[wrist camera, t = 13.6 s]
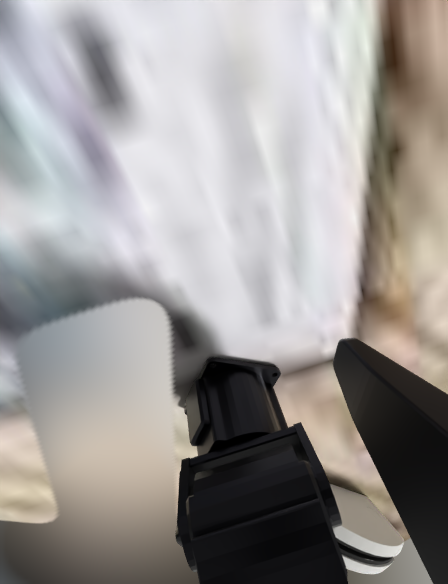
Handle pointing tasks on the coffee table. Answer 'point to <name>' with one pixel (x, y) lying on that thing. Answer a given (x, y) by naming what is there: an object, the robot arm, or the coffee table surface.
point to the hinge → (364, 533)
